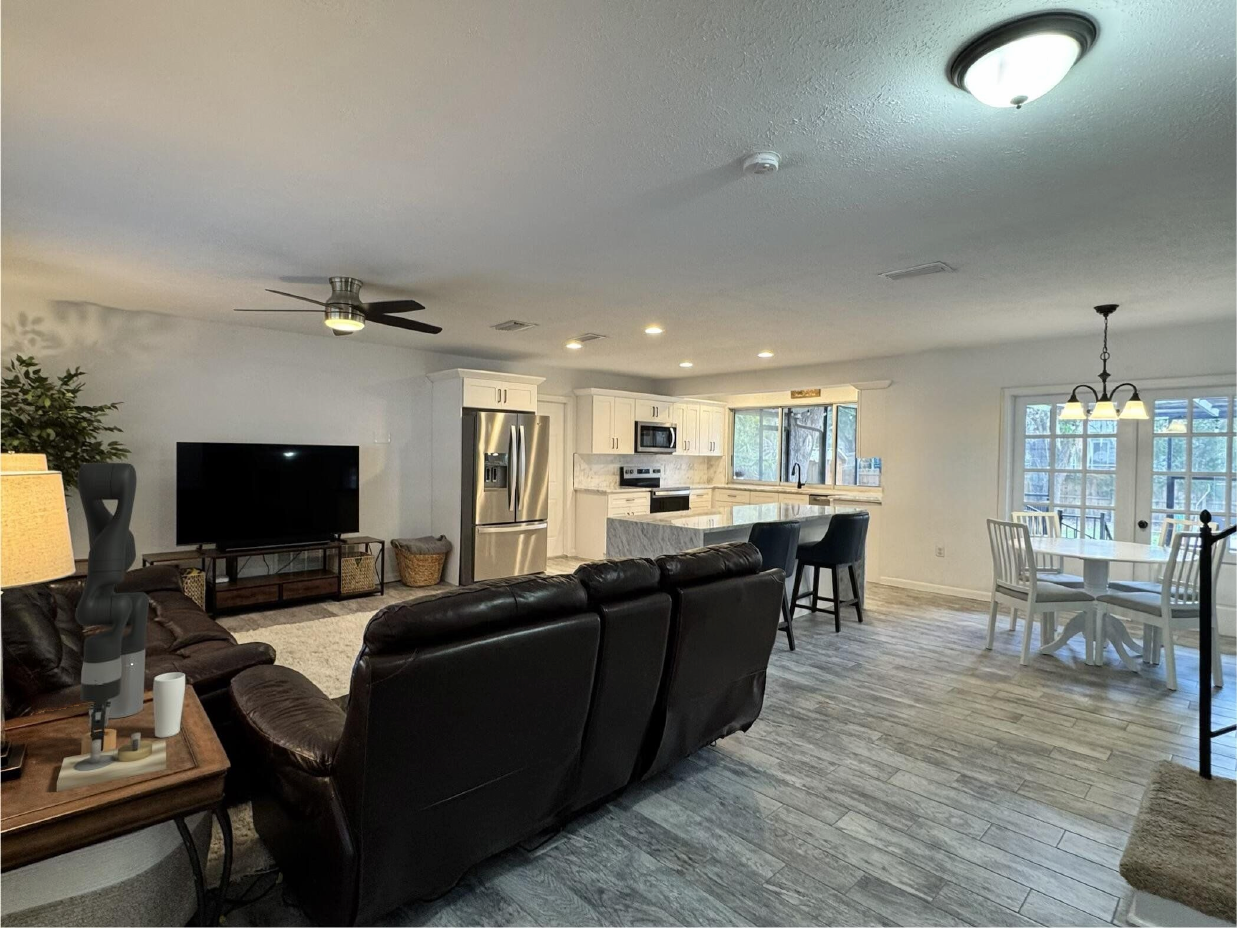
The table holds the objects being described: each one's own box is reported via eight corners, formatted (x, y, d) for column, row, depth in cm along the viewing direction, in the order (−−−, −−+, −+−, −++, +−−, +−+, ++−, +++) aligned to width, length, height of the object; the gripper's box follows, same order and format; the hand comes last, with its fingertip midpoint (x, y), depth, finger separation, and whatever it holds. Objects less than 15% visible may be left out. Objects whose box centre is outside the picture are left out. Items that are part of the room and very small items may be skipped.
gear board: (63, 766, 145) (65, 736, 145) (165, 747, 156) (166, 719, 156) (56, 791, 134) (57, 759, 134) (165, 769, 146) (167, 739, 146)
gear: (82, 748, 153) (83, 732, 153) (116, 742, 157) (116, 726, 157) (80, 759, 148) (80, 742, 148) (114, 752, 152) (115, 736, 152)
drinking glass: (164, 727, 167) (166, 671, 167) (189, 729, 166) (191, 672, 166) (144, 738, 160) (146, 680, 160) (170, 740, 160) (172, 681, 160)
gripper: (84, 671, 156) (81, 737, 156) (78, 689, 145) (75, 761, 145) (122, 666, 161) (119, 731, 161) (119, 683, 149) (116, 753, 149)
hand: (98, 745), depth 153 cm, fingers open, 7 cm apart
